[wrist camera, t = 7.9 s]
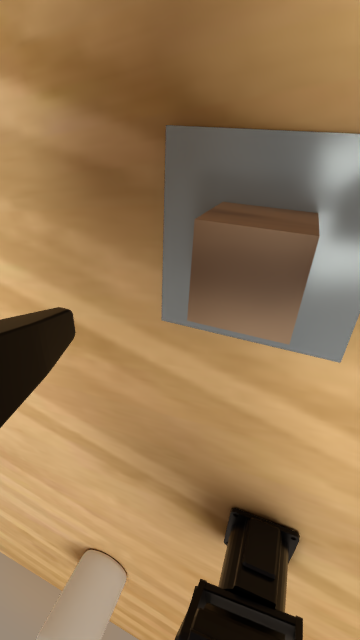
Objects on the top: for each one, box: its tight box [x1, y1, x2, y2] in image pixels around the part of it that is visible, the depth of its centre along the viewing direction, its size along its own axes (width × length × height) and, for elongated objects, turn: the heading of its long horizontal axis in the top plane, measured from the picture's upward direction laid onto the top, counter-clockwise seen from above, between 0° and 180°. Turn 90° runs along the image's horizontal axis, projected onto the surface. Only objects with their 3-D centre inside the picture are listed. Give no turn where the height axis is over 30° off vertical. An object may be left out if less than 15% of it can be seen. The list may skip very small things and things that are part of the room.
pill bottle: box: [36, 550, 127, 640], centre depth 44 cm, size 8×8×15 cm
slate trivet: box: [162, 125, 360, 363], centre depth 18 cm, size 12×12×1 cm
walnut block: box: [187, 202, 320, 345], centre depth 16 cm, size 5×5×5 cm
